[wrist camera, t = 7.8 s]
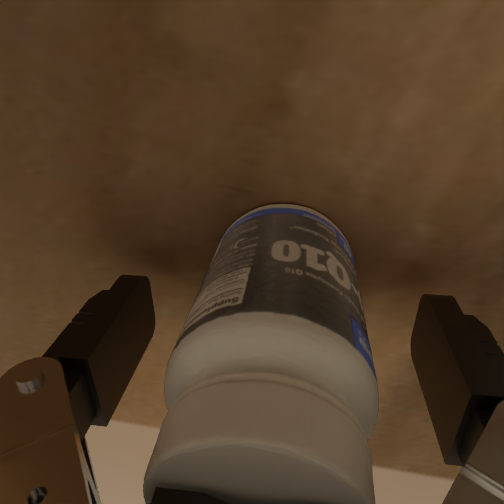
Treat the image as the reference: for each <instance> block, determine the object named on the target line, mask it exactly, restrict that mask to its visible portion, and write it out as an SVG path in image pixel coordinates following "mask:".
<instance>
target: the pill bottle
mask: <svg viewBox="0 0 504 504" xmlns="http://www.w3.org/2000/svg"><path fill="white" fill-rule="evenodd" d="M164 394H165V401H166V406H167V409H168V413H167V416H166V417H165V419H164V421H163V423H162V426H161V429H160V432H159V435H158V439H157V442H156V444H155V447H154V450H153V453H152V456H151V459H150V461H149V464H148V467H147V470H146V474H145V477H144V485H143V493H144V499H145V502H146V504H150V503H151V500H152V497H153V494H154V491H155V488H156V487H162V488H170V489H178V490H186V491H194V492H202V493H205V494H208V495H210V496H212V497H215V498H217V499H219V500H222V501H224V502H226V503H229V504H375V495H374V485H373V476H372V457H371V451H370V448H369V446H368V443H367V442H368V440H369V439H370V437H371V435H372V433H373V431H374V428H375V425H376V422H377V417H378V410H379V396H378V386H377V379H376V374H375V369H374V364H373V359H372V353H371V348H370V344H369V340H368V334H367V329H366V322H365V318H364V311H363V306H362V299H361V293H360V290H359V285H358V279H357V273H356V268H355V262H354V257H353V254H352V251H351V248H350V246H349V244H348V242H347V240H346V238H345V237H344V235H343V234H342V232H341V231H340V230H339V229H338V228H337V226H336V225H334V224H333V223H332V222H331V221H330V220H329V219H327V218H326V217H325V216H323V215H322V214H320V213H319V212H317V211H315V210H313V209H310V208H307V207H303V206H298V205H292V204H273V205H267V206H262V207H259V208H257V209H254V210H252V211H250V212H248V213H246V214H245V215H243V216H241V217H240V218H239V219H237V220H236V221H235V222H234V223H233V224H232V225H231V226H230V227H229V228H228V230H227V231H226V232H225V234H224V236H223V237H222V239H221V241H220V243H219V245H218V247H217V250H216V252H215V255H214V257H213V259H212V261H211V264H210V267H209V269H208V272H207V274H206V275H205V279H204V281H203V283H202V285H201V288H200V290H199V292H198V295H197V297H196V299H195V302H194V304H193V306H192V308H191V311H190V313H189V315H188V318H187V320H186V322H185V325H184V327H183V329H182V332H181V334H180V336H179V339H178V341H177V343H176V346H175V348H174V349H173V351H172V354H171V356H170V359H169V361H168V365H167V369H166V374H165V381H164Z"/></svg>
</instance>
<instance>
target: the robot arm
mask: <svg viewBox="0 0 504 504" xmlns="http://www.w3.org/2000/svg"><path fill="white" fill-rule="evenodd" d="M154 329H155V312H154V306H153V300H152V294H151V287H150V282H149V279H148V277H146V276H134V275H121V276H120V277H119V278H118V279H117V280H116V282H115V283H114V284H113V286H112V287H111V288H110V290H102V291H101V292H99V293H98V294H96V295H95V296H93V297H92V298H90V299H89V300H88V301H87V302H86V303H85V305H84V306H83V307H82V308H81V310H80V311H79V313H77V314H76V316H75V317H74V318H73V319H72V322H71V323H69V324H68V325H67V327H66V328H65V329H64V330H63V332H62V333H61V334H60V335H59V337H58V338H57V339H56V340H55V341H54V343H53V344H52V345H51V346H50V348H49V349H48V350H47V351H46V352H45V354H44V355H43V356H42V357H38V358H33V359H29V360H26V361H24V362H21V363H19V364H17V365H16V366H14V367H12V368H11V369H10V370H8V371H7V372H6V373H5V374H4V375H3V376H2V377H1V378H0V504H102V503H101V500H100V496H99V491H98V487H97V483H96V479H95V475H94V471H93V467H92V462H91V458H90V454H89V450H88V446H87V442H86V439H85V434H86V433H87V431H88V429H89V427H90V425H97V426H107V425H108V423H109V421H110V419H111V417H112V415H113V413H114V411H115V409H116V407H117V405H118V403H119V401H120V399H121V397H122V395H123V393H124V391H125V389H126V388H127V386H128V384H129V382H130V380H131V378H132V376H133V374H134V372H135V370H136V368H137V366H138V364H139V362H140V360H141V358H142V356H143V354H144V352H145V350H146V348H147V346H148V344H149V342H150V340H151V338H152V336H153V333H154ZM411 356H412V360H413V363H414V366H415V369H416V373H417V376H418V379H419V382H420V385H421V389H422V392H423V395H424V398H425V401H426V404H427V408H428V411H429V414H430V417H431V420H432V424H433V427H434V430H435V433H436V436H437V439H438V443H439V446H440V449H441V452H442V455H443V458H444V462H445V464H448V465H458V466H463V467H462V468H461V470H460V471H459V473H458V475H457V477H456V479H455V481H454V483H453V484H452V487H451V488H450V490H449V492H448V494H447V496H446V498H445V499H444V501H443V503H442V504H504V353H503V352H502V350H501V348H500V347H499V346H498V345H497V342H496V340H495V338H494V337H493V335H492V333H491V332H490V330H489V328H488V327H486V326H485V325H484V324H483V323H482V322H480V321H479V320H478V319H477V318H476V317H474V316H473V315H464V314H463V313H462V311H461V309H460V307H459V305H458V303H457V302H456V300H455V298H454V297H453V296H446V295H430V294H424V295H422V297H421V299H420V303H419V307H418V311H417V315H416V320H415V324H414V328H413V332H412V336H411ZM150 504H229V503H226V502H224V501H222V500H219V499H217V498H215V497H212V496H210V495H208V494H205V493H202V492H194V491H186V490H178V489H170V488H162V487H156V488H155V491H154V494H153V497H152V500H151V503H150Z"/></svg>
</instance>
